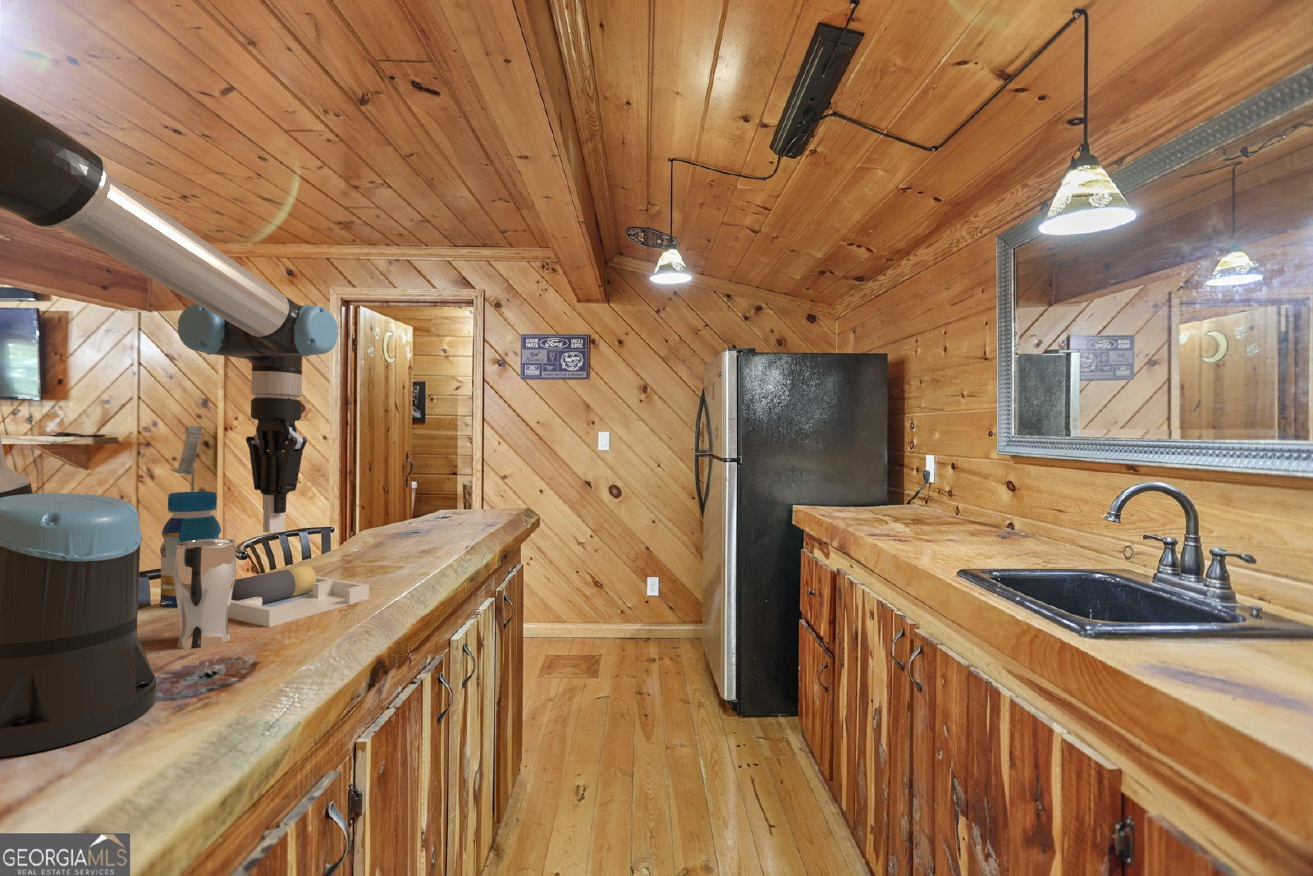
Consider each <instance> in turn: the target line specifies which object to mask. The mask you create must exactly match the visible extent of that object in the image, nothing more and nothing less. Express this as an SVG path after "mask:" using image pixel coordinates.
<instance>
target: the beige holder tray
mask: <svg viewBox="0 0 1313 876" xmlns="http://www.w3.org/2000/svg"><path fill="white" fill-rule="evenodd" d="M369 599H370V584H367V583H360V582H356V581H355V582H354V581H347V580H341V579H335V578H330V577H329V578H327V577H323V576H317V575H316V583H313V591H312V592H309V593H305V594H301V595H297V596H293V597H289V598H285V599H280V600H276V601H272V602H268V603H264V604H262V598H261V597H252V598H248V599H244V600H239V601H235V600H231V603H230V608H229V613H228V619H231V620H236V621H239V622H246V623H250V624H253V625H259V626H262V627H268V628H270V627H273V626H278V625H281V624H285V623H288V622H292V621H295V620H299V619H302V618H306V617H309V616H313V615H316V614H319V613H324V612H327V611H330V610H334V609H338V608H341V607H345V606H349V605H351V604H354V603H360V602H362V601H366V600H369Z"/></svg>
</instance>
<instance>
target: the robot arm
mask: <svg viewBox="0 0 1313 876" xmlns="http://www.w3.org/2000/svg"><path fill="white" fill-rule="evenodd" d="M0 209H1V210H4V211H7V212H9V213H11V214H14V215H16V216H18V217H20V218H22V219H24V220H26V221H27V222H29V223H30V224H32V225H35V226H36V227H38V228H41V229H53V228H61V229H62V230H64V231H66V232H67V233H70V234H71V235H73V236H74V237H77V238H78V239H79V240H82V241H84V242H85V243H87V244H89V245H90V246H93V247H94V248H96V249H98V250H99V251H101V252H103V253H105V254H107V255H109V256H111V257H112V258H114V259H115V260H118V261H119V262H121V263H123V264H125V265H126V266H128V267H130V268H132V269H133V270H135V271H137V272H139V273H141V274H142V275H145V276H146V277H148V278H149V279H152V280H153V281H155V282H157V283H159V284H160V285H162V286H164V287H165V288H167V289H170V290H171V291H173V292H175V293H177V294H178V295H180V296H182V297H184V298H185V299H188V301H191V302H193V303H192V304H190V305H188V306H186V307H185V308H184V309H183V310H182V312H181V313H180V315H179V317H178V320H177V324H178V325H177V333H178V337H179V339H180V341H181V343H182V344H183V345H184V346H185V347H186V348H188V349H190V350H192V351H195V352H199V353H204V354H207V355H209V356H211V355H216V356H222V357H231V358H237V359H245V360H247V361H251V382H250V394H251V395H253V396H254V397H253V398H252V399H251V400H250V418H251V419H252V420H257V425H256V429H255V433H254V435H252V436H251V435H250V436H246V437H245V442H246V445H247V447H248V449H249V458H250V466H251V473H252V480H253V489H254V490H255V491H260V493H261V495H262V510H263V513H262V515H263V517H262V518H263V521H262V523H263V525H262V532H263V533H268V534H271V533H272V534H273V533H277V532H278V533H279V532H285V531H286V530H285V528H286V527H285V526H286V511H287V496H288V494H289V493H290V492H295V491H296V490H297V486H298V481H299V475H300V468H301V462H302V457H303V451H304V449H305V446H306V445H307V443H308V440H307V437H302V436H301V437H300V435H298V434H297V432H298V431H297V427H296V421H300V420H302V410H303V409H302V404H303V403H302V401H301V400H300V399H298V398H300V397H302V393H303V392H302V389H303V388H302V385H303V384H302V381H303V379H302V378H303V357H310V356H316V355H325V354H328V353H329V352H331V351H332V350H333V349H334V347H335V346H336V344H337V342H338V337H339V328H338V323H337V321H336V319H335V316H333V314H332V313H331V311H330V310H328V309H326V308H325V307H323V306H319V305H311V304H304V305H301V304H299V303H297V302H295V301H294V300H292V299H291V298H289V297H288V296H286V295H284V294H283V293H282V292H280V291H278V289H276V288H275V287H273V286H271V285H270V284H268V283H267V282H265V281H264V280H263V279H261V278H260V277H259V276H257V275H255V274H254V273H252V271H250V270H248V269H247V268H245V267H244V266H242V265H241V264H239V263H238V262H237V261H235V260H234V259H233V258H231V257H229V256H228V255H226V254H225V253H223V252H222V251H221V250H220V249H218V248H216V247H214V245H212V244H210V243H209V242H207V241H206V240H204V239H203V238H201V237H200V236H199V235H197V234H196V233H195V232H193V231H191V230H190V229H189V228H187V227H186V226H184V225H183V224H182V223H180V222H178V221H177V220H176V219H174V218H172V216H170V215H168V214H167V213H165V212H164V211H162V210H161V209H160V208H158V207H156V206H155V205H153V204H152V203H151V202H149V201H148V200H146V199H145V198H144V197H142V196H141V195H139V194H138V193H136V192H135V191H133V190H132V189H130V188H129V187H128V186H126V185H125V184H123V183H122V182H120V181H119V180H118V179H117V178H115V177H113V176H111V175H110V174H109V173H108V171H107V165H106V162H105V161H104V160H103V158H102V157H101V156H99V155H98V154H97V153H95V152H94V151H92V150H91V149H90V148H88V147H86V146H85V145H84V144H82V143H81V142H79V141H78V140H76V139H75V138H74V137H73V136H71V135H69V134H68V133H66V132H65V131H63V130H62V129H61V128H59V127H58V126H55V125H54V124H52V123H51V122H49V121H48V120H46V119H44V118H43V117H41V116H40V115H37V114H36V113H34V112H32V111H31V110H29V109H28V108H26V107H24V106H22V105H21V104H19V103H18V102H15V101H13V100H12V99H10V98H8V97H6V96H4V95H2V94H0ZM142 537H143V535H142V533H141V525H140V516H139V512H138V510H137V508H136V507H135V506H134V505H133V504H131V503H130V502H128V501H126V500H124V499H123V500H122V499H121V498H115V497H111V496H105V495H97V494H88V493H87V494H86V493H85V494H74V493H70V492H69V493H63V492H61V493H60V492H58V493H57V492H54V493H51V492H48V493H47V492H46V493H45V492H43V493H33V487H32V483H31V479H30V477H27V476H26V475H24V474H22V473H19V472H18V471H15V470H13V469H12V468H10V467H9V466H8V464H7V462H6V456H5V452H4V447H3V443H2V439H1V436H0V757H1V758H2V757H10V756H19V755H25V754H31V753H36V752H40V751H45V750H51V749H54V748H59V747H62V746H66V745H70V744H74V743H76V742H80V741H84V740H86V739H90V738H93V737H96V736H99V735H102V734H104V733H107V732H110V731H112V730H114V729H117V728H119V727H122V726H123V725H126V724H128V723H130V722H132V721H134V720H136V719H137V718H140V717H141V716H143V715H144V714H146V713H147V712H148V711H149V710H151V709H152V707H153V706H154V705H155V704H156V702H157V685H158V684H157V679H156V675H155V673H154V671H153V669H152V666H151V663H150V661H149V660H148V657H147V655H146V652H145V650H144V647H143V646H142V645H143V644H142V643H141V641H140V638H139V636H138V611H139V609H138V607H139V589H140V588H139V584H140V564H141V563H140V559H141V543H142V541H143V540H142V539H143V538H142Z"/></svg>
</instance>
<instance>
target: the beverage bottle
mask: <svg viewBox="0 0 1313 876" xmlns="http://www.w3.org/2000/svg"><path fill="white" fill-rule="evenodd" d="M217 502H218V495H217V492H215V491H209V490H208V491H205V490H204V491H203V490H201V491H198V490H197V491H181V492H180V491H179V492H178V491H177V492H171V493H169V494H168V497H167V511H168V513H169V514H172V515H171V517H170V518H169V519H168V520H167V521H166V523H165V525H164V526H163V528H162V531H161V537H162V538H163V542H162V543H161V545H160V548H159V551H160V552H159V553H160V599H159V600H160V602H159V607H161V608H167V609H176V608H177V609H178V604H177V599H176V594H175V586H174V567H175V558H176V551H177V544H179V543H182V542H187V541H193V540H203V539H220V537H219V536H220V534H221V532H222V528H221V523H219V520H218V519H217V517H216V516H215V515H214V514H213V513H212V512H214V511H216V510H217V507H218V506H217V505H218V503H217ZM167 602H168V603H167ZM161 603H166V604H161Z"/></svg>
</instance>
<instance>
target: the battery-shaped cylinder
mask: <svg viewBox="0 0 1313 876" xmlns="http://www.w3.org/2000/svg"><path fill="white" fill-rule="evenodd" d="M316 576H317V575H316V572H315V570H314V569H313V568H312V567H311V566H309V565H303V566H297V567H293V568H287V569H283V570H278V571H272V572H268V573H262V574H258V575H251V576H247V577H242V578H235V585H234V590H233V594H232V599H231V600H235V601H239V600H244V599H248V598H252V597H261V598H262V604H264V603H268V602H272V601H276V600H280V599H285V598H289V597H293V596H297V595H301V594H305V593H309V592H312V591H313V583H316Z"/></svg>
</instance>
